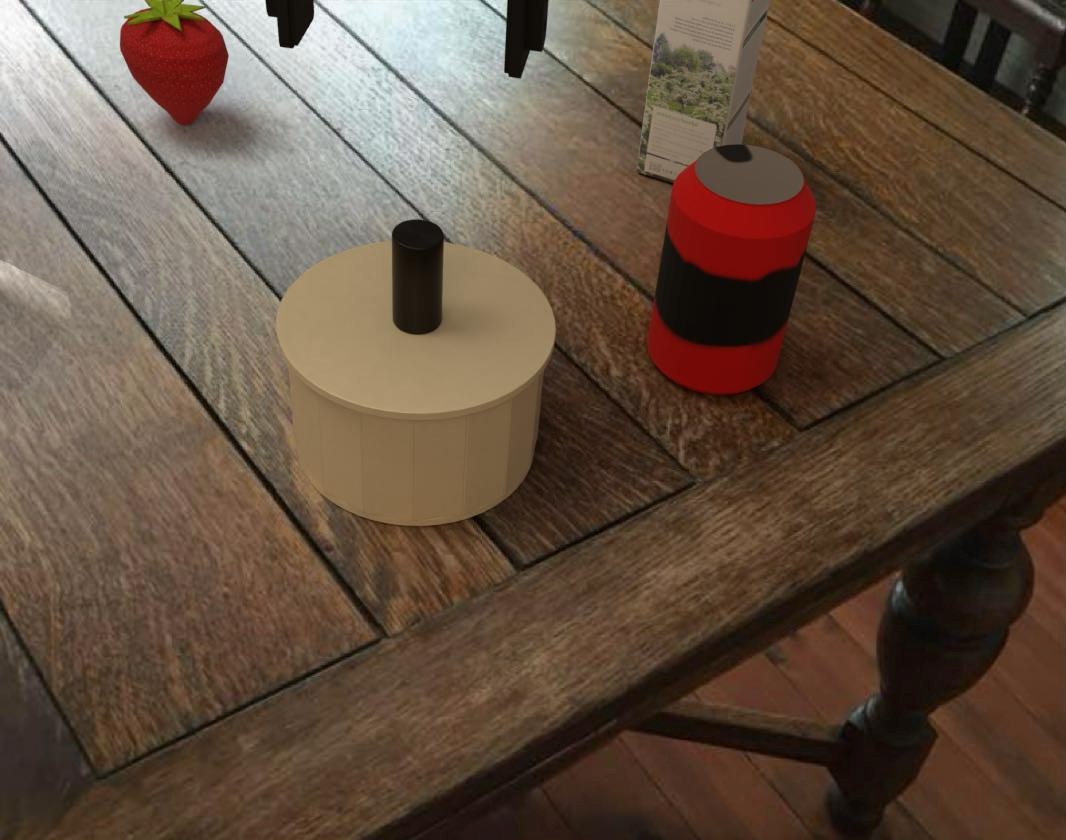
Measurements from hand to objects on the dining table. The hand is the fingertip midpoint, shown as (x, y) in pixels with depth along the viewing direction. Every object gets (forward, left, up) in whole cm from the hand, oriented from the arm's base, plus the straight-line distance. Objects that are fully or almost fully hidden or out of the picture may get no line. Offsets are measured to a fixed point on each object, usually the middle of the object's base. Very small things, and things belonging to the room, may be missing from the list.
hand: (407, 48), depth 58 cm
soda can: (+16, +9, -21) cm, 28 cm away
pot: (+1, -2, -21) cm, 21 cm away
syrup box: (+13, +29, -21) cm, 38 cm away
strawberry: (-21, +25, -21) cm, 39 cm away
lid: (+1, -2, -14) cm, 14 cm away
